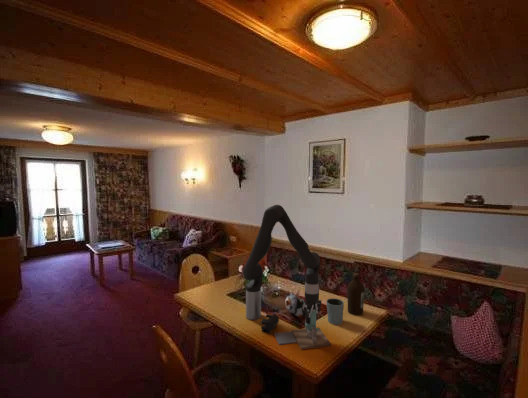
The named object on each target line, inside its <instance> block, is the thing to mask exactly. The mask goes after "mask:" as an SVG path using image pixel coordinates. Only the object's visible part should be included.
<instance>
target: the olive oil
mask: <svg viewBox="0 0 528 398" xmlns="http://www.w3.org/2000/svg"><path fill="white" fill-rule="evenodd" d="M365 289H366V288H365V286H364V284H363V283H362V282H361V281H360V274H359V273H356V272H354V273H353V277H352V280H351V281H349V283H348V284H347V288H346V291H347V292H346V294H347V313H348V314H350V315H353V316H361V315H363V313H364V305H365V304H364V303H365V292H366V291H365Z"/></svg>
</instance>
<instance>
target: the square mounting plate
mask: <svg viewBox="0 0 528 398" xmlns="http://www.w3.org/2000/svg"><path fill="white" fill-rule="evenodd" d="M305 323H306V318H305V320H304V324H305ZM316 328H317V329H319V331H317V330H316V329H315V327H311V329H312V331H311V330H308V329H307V326H305V325H304V328H302V329H301V328H300V329H299V328H298V329H292V330H291V331H292V333H293V335H294V336H295V338H296V340H297V343H296V344H298V346H299V349H300V350H308V349H315V348H325V347H332V342H330V340H329V339H328V338H327V337H326V335H325V334H324V332H323V330H321V328H320V327H319V326H318V327H317V326H316Z"/></svg>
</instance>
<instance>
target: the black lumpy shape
mask: <svg viewBox="0 0 528 398" xmlns="http://www.w3.org/2000/svg"><path fill="white" fill-rule="evenodd" d="M264 316H265V318H263V319H261V322H260V324H261V326H260V329H261V332H262V333H265V334H270V333H272V332H273V330H275V327H276V326H277V325H278V324H279V321H280V319H279V317H278V315H277V314H275V313H273V314H266V315H264Z"/></svg>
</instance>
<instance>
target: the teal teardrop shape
mask: <svg viewBox="0 0 528 398" xmlns="http://www.w3.org/2000/svg"><path fill="white" fill-rule="evenodd" d="M309 311H310V310H309ZM308 314H309V313H308ZM305 326H307V329H308V330H311V331H312V329H311V327H315V329H316V330H317V331H319V329H317V320H316V310H315V309H313V310H312V313H311V315H310V324H307V323H305V322H304V327H305Z"/></svg>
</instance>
